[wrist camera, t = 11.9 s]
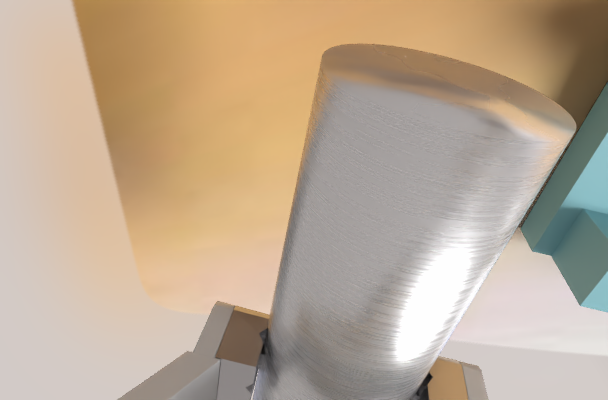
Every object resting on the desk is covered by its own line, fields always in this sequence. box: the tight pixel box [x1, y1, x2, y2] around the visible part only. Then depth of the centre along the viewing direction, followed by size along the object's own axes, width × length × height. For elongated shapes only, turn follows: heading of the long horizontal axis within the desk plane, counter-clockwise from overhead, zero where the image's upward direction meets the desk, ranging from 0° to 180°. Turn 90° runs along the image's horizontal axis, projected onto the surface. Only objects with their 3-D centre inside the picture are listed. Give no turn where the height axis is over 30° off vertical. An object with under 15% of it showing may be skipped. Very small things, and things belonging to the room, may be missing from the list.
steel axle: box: [253, 44, 577, 400], centre depth 10 cm, size 14×4×4 cm, turn 170°
